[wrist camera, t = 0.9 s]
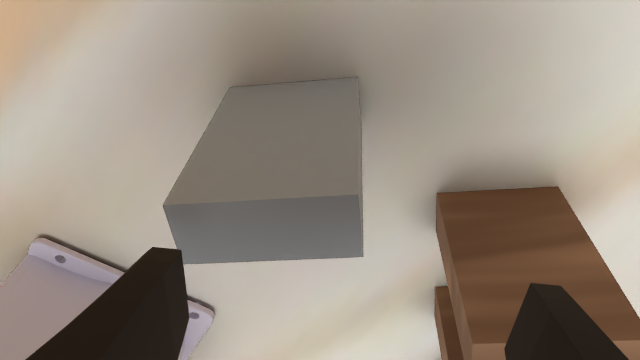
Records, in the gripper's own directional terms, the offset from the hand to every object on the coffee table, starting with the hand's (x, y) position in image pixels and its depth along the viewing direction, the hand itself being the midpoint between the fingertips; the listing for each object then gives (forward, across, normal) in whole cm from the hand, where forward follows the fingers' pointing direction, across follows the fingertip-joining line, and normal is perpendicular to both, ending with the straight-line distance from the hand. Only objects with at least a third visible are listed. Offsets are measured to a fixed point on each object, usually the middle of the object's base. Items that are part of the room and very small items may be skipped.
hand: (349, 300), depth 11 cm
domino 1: (+11, +2, +1) cm, 11 cm away
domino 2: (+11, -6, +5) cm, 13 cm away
